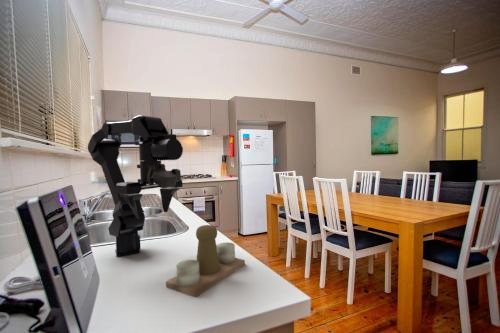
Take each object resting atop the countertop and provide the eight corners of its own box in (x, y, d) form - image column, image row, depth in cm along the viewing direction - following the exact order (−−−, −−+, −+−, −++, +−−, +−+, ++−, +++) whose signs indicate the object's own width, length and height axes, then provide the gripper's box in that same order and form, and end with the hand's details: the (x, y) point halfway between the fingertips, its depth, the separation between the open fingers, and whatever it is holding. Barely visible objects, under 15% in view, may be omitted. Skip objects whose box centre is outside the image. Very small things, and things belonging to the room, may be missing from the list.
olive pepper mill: (221, 264, 68) (220, 222, 68) (218, 275, 62) (216, 229, 62) (198, 265, 68) (197, 223, 68) (192, 275, 62) (191, 229, 62)
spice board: (166, 286, 60) (165, 264, 59) (218, 258, 76) (218, 240, 75) (195, 297, 55) (194, 272, 55) (244, 264, 71) (244, 245, 71)
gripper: (139, 161, 62) (142, 226, 63) (194, 159, 78) (196, 211, 79) (112, 161, 68) (115, 221, 69) (169, 160, 84) (170, 208, 85)
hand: (152, 215), depth 75 cm, fingers open, 9 cm apart
